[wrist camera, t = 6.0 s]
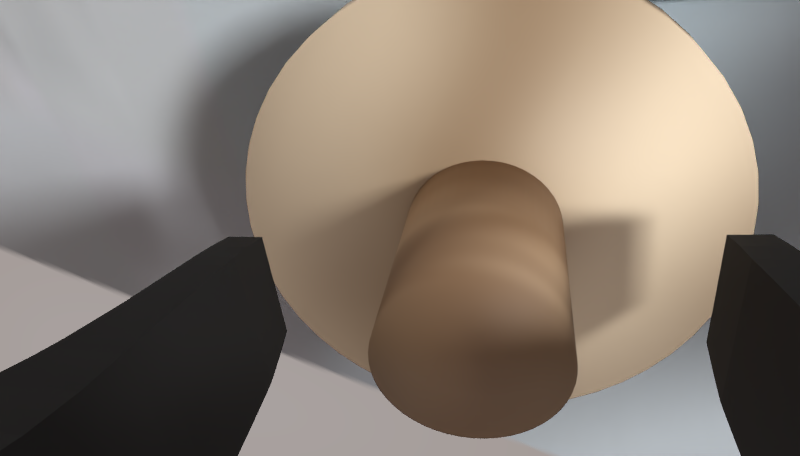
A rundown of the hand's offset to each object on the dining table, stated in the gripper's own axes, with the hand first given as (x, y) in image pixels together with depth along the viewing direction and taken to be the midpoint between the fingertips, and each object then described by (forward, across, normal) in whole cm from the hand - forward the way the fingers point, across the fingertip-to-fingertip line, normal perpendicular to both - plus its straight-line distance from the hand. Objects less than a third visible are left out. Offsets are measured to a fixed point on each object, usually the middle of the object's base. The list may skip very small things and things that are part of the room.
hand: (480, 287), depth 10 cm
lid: (+2, 0, 0) cm, 2 cm away
